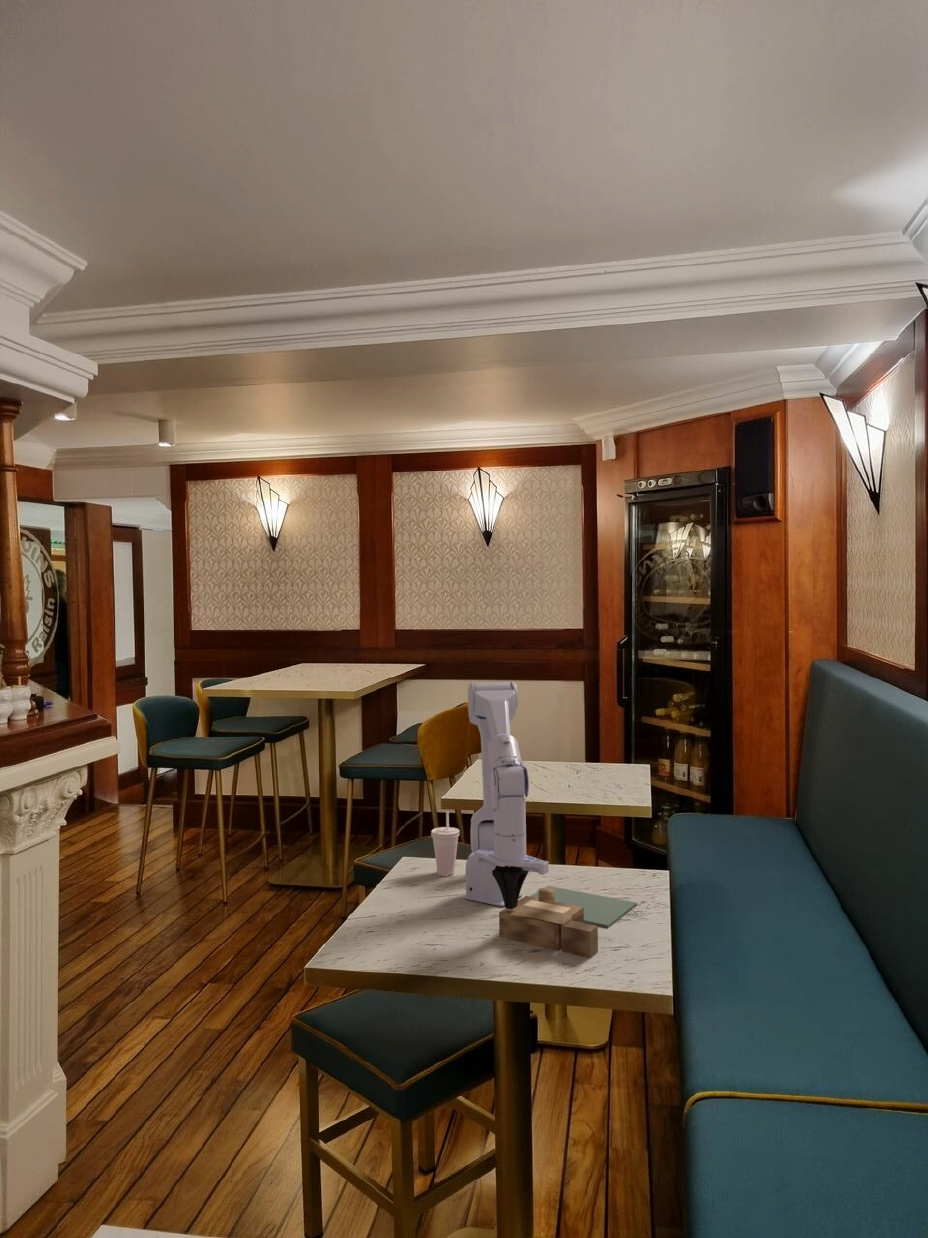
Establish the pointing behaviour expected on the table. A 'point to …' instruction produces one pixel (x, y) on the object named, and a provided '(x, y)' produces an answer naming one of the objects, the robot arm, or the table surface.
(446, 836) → the smoothie
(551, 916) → the block
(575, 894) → the mat
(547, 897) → the lid
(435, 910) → the table surface
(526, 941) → the open wooden box
